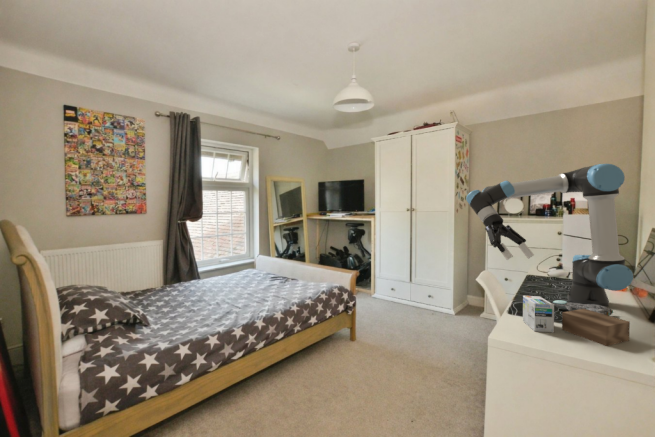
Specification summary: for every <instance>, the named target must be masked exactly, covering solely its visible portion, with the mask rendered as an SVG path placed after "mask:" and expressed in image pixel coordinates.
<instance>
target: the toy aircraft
mask: <svg viewBox="0 0 655 437" xmlns="http://www.w3.org/2000/svg"><path fill="white" fill-rule="evenodd" d="M552 304H554V307H556V308H558V309H561V310H568V311H573V310H579V309H587V310H591V311H594V312H598V313H601V314H605V315H608V316H611V315H613V313H614V310H613V309H612V308H609V307H608V306H607V307H604V306H601V305H595V304H580V303H573V302H571V301H569V302H568V301H567V300H561V299H560V300H558V299H557V300H554V301H552Z"/></svg>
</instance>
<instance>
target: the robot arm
mask: <svg viewBox="0 0 655 437" xmlns="http://www.w3.org/2000/svg"><path fill="white" fill-rule="evenodd" d="M624 183H625V173H624V172H623V170H622V169H621V168H620V167H619V166H617V165H615V164H612V163H599V164H594V165H590V166H585V167H581V168H578V169H574V170H571V171H567V172H562V173H559V174H557V175H555V176H548V177H542V178H537V179H535V178H534V179H530V180H522V181H517V182H511V181H508V180H503V181H502V182H499V183H497V184H495V185H492V186H491V185H490V186H486V187H485V188H483V189H482V191H481V190H480V189H473V190H472V191H470V192H469V193H468V194H467V195H466V198H465V200H466V202H467V203H468V205H469V207H471V209H472V210H473V211H474V213H475V214H476V216H477V217H478V218H479V220H480V221H481V222H482V223H483V225H484V227H485V228H484V230H485V231H486V233H487V237H488V239H489V244H490V246H493V248H498V250H499V251H500V253H501V254H502V255H503V257H504V258H505V259H506V261H508V260H510V259H511V258H512V257H513V255H512V253H511V252H510V250H509V249H508V248H507V246H506V245H505V243H504V242H502V237H505V238H507V239H509V240H511V241H512V242H514V243H515V244H517V245H518V248H519V249H520V250H521V252H522V253H523V254H524V256H525V257H526V258H527V259H530V258H532V257H534V256H535V254H534V253H533V252H532V250H531V249H530V248H529V247H528V245H527V244H526V242H527V239H525V238H524V236H522V235H521V234H519V233H518V232H517V231H515V229H513V227H511V226H510V225H509V224H507V225H506V226H505V225H504V224H503V223H504V218H503V217H502V216H501V215H500V214H499V213H498V211H497V210H496V209H495V207H494V205H495V204H498V203H500V202H501V201H504V200H508V199H516V198H521V197H522V198H523V197H529V196H538V195H545V194H552V193H559V192H560V193H562V194H565V193H566V194H568V193H582V198H583V199H585V200H586V201H587V206H588V216H589V218H588V219H589V229H590V238H591V248H592V250H591V251H592V254H574V255H573V257H572V277H571V278H572V279H571V280H572V282H571V283H572V284H571V287H570V288H569V291H568V294H567V301H569V302H571V303H580V304H595V305H601V306H604V307H607V308H608V307H609V306H610V299H609V297H608V295H607V292H606V290H608V291H613V292H616V291H617V292H618V291H623V290H624V289H625V290H626V288H628V287H629V286H630V285H631V284H632V283H633V281H634V274H633V272H632V271H633V270H632V269H630V268H629V267H628V266H626V259H625V257H624V256H623V255H621V254H620V246H619V235H618V224H617V213H616V200H615V199H616V197H617V196H619V194H620V189H619V188H621V186H622V185H623V184H624Z"/></svg>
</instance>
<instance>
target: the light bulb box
mask: <svg viewBox="0 0 655 437" xmlns="http://www.w3.org/2000/svg"><path fill="white" fill-rule="evenodd" d="M522 322H523V323H525V324H526V326H528V327H530V329H532V331H534V332H540V333H542V332H543V333H555V305H554V304H553V302H550V301H549V300H546V299H545V298H543V297H542V296H536V295H534V296H533V295H522Z"/></svg>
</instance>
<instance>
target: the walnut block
mask: <svg viewBox="0 0 655 437" xmlns="http://www.w3.org/2000/svg"><path fill="white" fill-rule="evenodd" d="M561 315H562V316H561V319H562V320H561V330H562V331H564V332H567V333H569V334H573V336H574V335H575V336H576V337H577V336H578V337H581V338H583V339H586V340H588V341H591V342H593V343H596V344H598V345H602V346H604V347H608V346H613V345H617V344H621V343H626V342H629V341H630V324H631V323H630V321H628V320H627V319H626V320H625V319H622V318H618V317H615V316H611V315H610V316H608V315H605V314H601V313H598V312H594V311H591V310H587V309H579V310H572V311H569V310H568V311H562V312H561Z"/></svg>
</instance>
